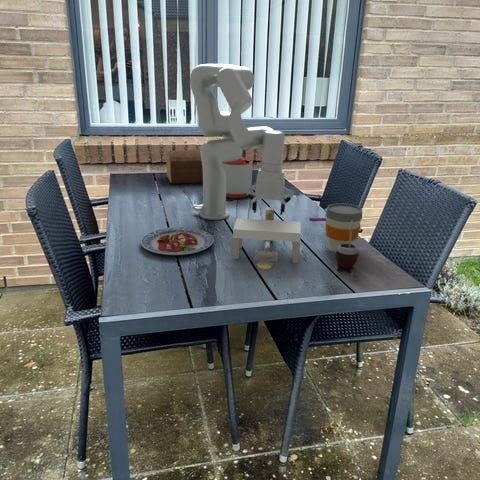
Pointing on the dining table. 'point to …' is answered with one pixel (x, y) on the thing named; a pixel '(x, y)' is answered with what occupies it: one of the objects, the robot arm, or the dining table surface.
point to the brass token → (264, 265)
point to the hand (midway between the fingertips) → (268, 212)
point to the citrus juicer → (237, 177)
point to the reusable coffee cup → (342, 224)
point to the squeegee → (318, 218)
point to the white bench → (266, 233)
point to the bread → (184, 166)
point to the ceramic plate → (177, 241)
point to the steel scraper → (267, 243)
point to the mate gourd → (346, 255)
